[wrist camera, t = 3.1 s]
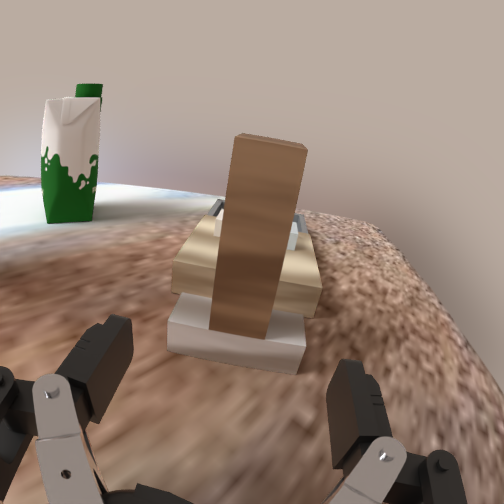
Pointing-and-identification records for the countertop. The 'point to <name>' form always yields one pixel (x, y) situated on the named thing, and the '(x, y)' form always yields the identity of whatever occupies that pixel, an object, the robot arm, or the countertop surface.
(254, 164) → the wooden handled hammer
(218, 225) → the tile
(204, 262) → the light wood board
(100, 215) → the countertop surface
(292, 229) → the tile
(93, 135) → the milk carton
